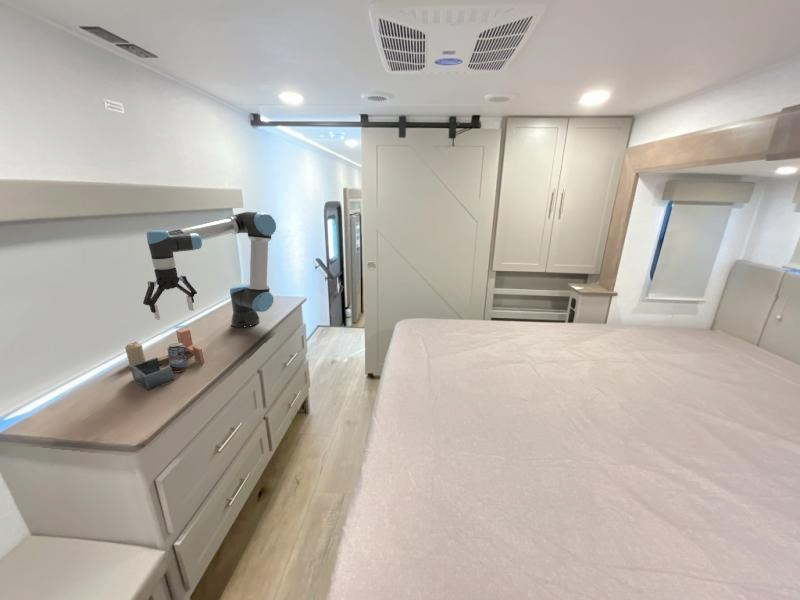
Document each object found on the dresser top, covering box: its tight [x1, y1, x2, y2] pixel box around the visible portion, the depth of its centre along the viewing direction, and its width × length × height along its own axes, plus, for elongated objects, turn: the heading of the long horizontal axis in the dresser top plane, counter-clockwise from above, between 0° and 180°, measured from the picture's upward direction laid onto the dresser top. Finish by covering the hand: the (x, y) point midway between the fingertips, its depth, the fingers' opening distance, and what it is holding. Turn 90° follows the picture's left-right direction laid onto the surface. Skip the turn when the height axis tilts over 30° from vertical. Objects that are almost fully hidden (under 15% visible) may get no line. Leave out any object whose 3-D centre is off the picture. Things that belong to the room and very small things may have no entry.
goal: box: [129, 357, 175, 391], centre depth 125 cm, size 9×14×6 cm, turn 57°
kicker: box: [175, 327, 205, 365], centre depth 140 cm, size 4×16×12 cm, turn 57°
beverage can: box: [167, 342, 188, 373], centre depth 132 cm, size 6×7×12 cm
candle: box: [125, 341, 147, 367], centre depth 136 cm, size 6×6×10 cm
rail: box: [157, 351, 194, 368], centre depth 140 cm, size 16×3×3 cm, turn 147°
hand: (175, 314), depth 138 cm, fingers open, 13 cm apart
